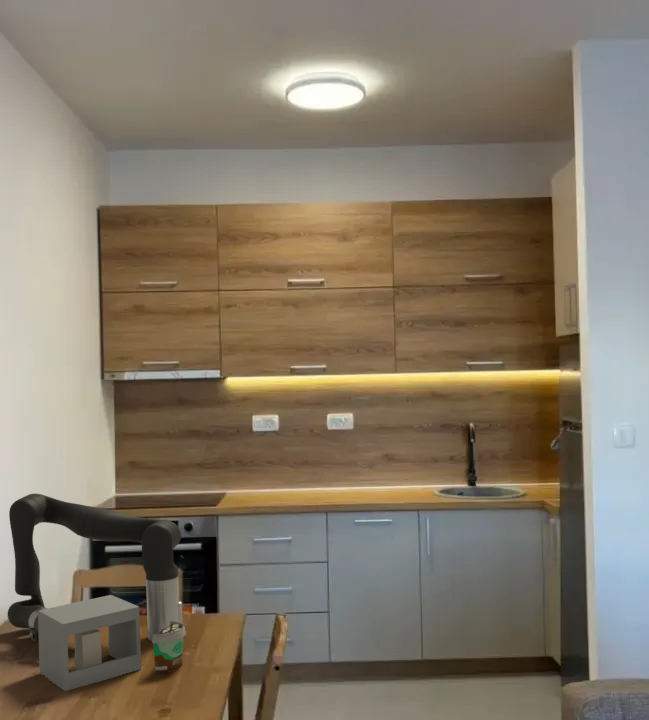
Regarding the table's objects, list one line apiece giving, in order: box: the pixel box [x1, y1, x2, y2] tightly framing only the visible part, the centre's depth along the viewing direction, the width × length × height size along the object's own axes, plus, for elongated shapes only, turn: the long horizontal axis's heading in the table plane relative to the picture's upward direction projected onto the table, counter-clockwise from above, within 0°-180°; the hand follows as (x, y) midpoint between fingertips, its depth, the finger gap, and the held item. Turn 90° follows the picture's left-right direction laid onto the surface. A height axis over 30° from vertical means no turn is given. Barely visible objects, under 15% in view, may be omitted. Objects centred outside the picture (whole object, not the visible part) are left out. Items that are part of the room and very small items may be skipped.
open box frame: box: [38, 594, 142, 692], centre depth 200 cm, size 20×17×16 cm
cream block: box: [74, 629, 103, 670], centre depth 201 cm, size 5×5×10 cm
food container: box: [151, 621, 187, 674], centre depth 201 cm, size 12×6×10 cm, turn 168°
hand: (67, 635), depth 211 cm, fingers open, 8 cm apart
